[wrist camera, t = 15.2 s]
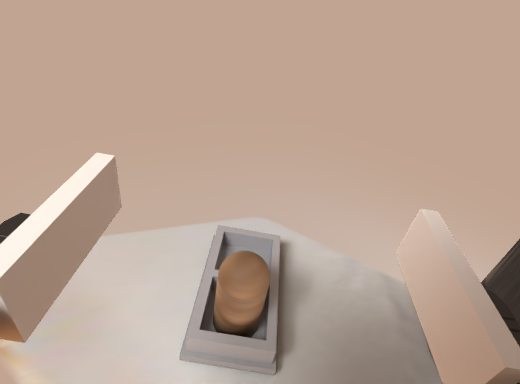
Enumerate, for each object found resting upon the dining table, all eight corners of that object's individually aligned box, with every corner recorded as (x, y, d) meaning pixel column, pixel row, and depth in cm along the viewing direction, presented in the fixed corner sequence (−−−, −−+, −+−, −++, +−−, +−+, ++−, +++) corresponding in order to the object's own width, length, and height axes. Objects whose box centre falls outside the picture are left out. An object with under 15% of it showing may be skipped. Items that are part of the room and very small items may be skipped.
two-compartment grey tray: (274, 374, 33) (280, 357, 31) (179, 359, 32) (180, 341, 30) (279, 251, 47) (283, 234, 45) (213, 240, 47) (215, 222, 45)
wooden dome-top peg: (267, 317, 37) (284, 258, 31) (240, 351, 33) (254, 291, 27) (232, 292, 39) (242, 232, 33) (202, 322, 35) (208, 260, 29)
